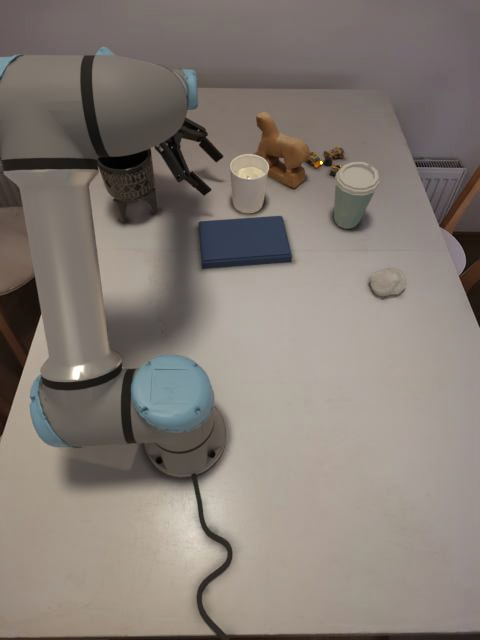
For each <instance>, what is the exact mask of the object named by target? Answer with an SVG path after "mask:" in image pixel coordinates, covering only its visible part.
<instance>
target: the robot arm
mask: <svg viewBox="0 0 480 640" xmlns="http://www.w3.org/2000/svg"><path fill="white" fill-rule="evenodd" d="M198 92H199V91H198V76H197V72H196V71H195V70H194V69H187V68H186V69H185V68H173V69H171V68H169V67H166V66H164V65H161V64H158V63H153V62H149V61H145V60H140V59H135V58H131V57H127V56H121V55H117V54H115V53H114V52H113V51H112V50H110V49H109V48H108V47H107V46H100V48H99V49H98V50H97V52H96V53H95V54H91V55H90V54H89V55H87V54H86V55H85V54H81V55H79V54H22V53H18V54H14V55H12V56H0V162H1V167H2V172H3V175H4V176H5V177H7V179H9V180H10V181H11V182H13V183H14V184H15V185H16V186H17V187H18V188H19V193H20V198H21V204H22V210H23V216H24V221H25V227H26V232H27V233H26V234H27V238H28V243H29V244H28V245H29V249H30V250H29V251H30V256H31V261H32V267H33V272H34V278H35V285H36V289H37V290H36V291H37V295H38V303H39V307H40V313H41V319H42V324H43V330H44V335H45V341H46V347H47V353H48V358H47V360H46V361H45V362H43V363H42V365H41V366H40V369H39V372H40V374H39V375H38V376H37V377H36V378H35V379H34V380H33V382H32V384H31V387H30V392H29V398H30V400H31V401H30V403H29V414H30V419H31V423H32V425H33V428H34V430H35V433H36V434H37V435H38V437H39V439H40V440H41V441H42V442H43V443H44V444H46V445H48V446H50V447H52V448H69V449H74V450H75V449H82V448H89V447H102V446H103V447H105V446H118V445H119V446H120V445H121V446H123V445H133V444H143V445H144V450H145V452H146V454H147V456H148V458H149V460H150V461H151V463H152V464H153V466H155V467H156V468H157V469H158V470H159V471H160V472H162V473H164V474H165V475H168V476H171V477H174V478H180V479H181V478H182V479H186V478H191V479H192V485H193V490H194V494H195V499H196V504H197V512H198V513H197V515H198V520H199V523H200V527H201V528H202V530H203V532H204V533H205V534H206V535H207V536H208V537H209V538H210V539H212V540H214V541H216V542H218V543H220V544H222V545H223V546H224V547H225V549H226V551H227V553H226V554H227V555H226V556H227V557H226V558H225V561H224V562H223V564H222V565H220V566H219V567H218V568H217V569H215V570H213V572H211V573H210V574H209V575H207V576H206V577H205V578H204V579H202V580H201V582H200V584H199V586H198V588H197V591H196V605H197V609H198V612H199V614H200V616H201V618H202V620H203V621H204V622H205V623H206V624H207V626H208V627H209V628H210V629H211V630H212V631H213V632H214V633H215V634H216V635H217V636H218V637H219V638H220V639H221V640H231V638H230V637H229V635H227V634H226V632H224V631H223V630H222V629H221V628H220V626H219V625H218V624H217V623H215V621H214V620H213V619H211V617H210V616H209V614H208V613H207V611H206V610H205V607H204V605H203V592H204V589H205V587H206V586H207V585H208V584H209V583H210V582H212V581H213V580H214V579H215V578H217V577H218V576H219V575H221V574H222V573H223V572H224V571H226V569H228V567H229V566H230V564H231V563H232V559H233V548H232V545H231V544H230V542H229V541H228V540H227V539H226V538H224V537H222V536H220V535H218V534H216V533H215V532H213V531H212V530H211V529H210V528H209V526H208V525H207V523H206V520H205V515H204V508H203V507H204V506H203V500H202V495H201V491H200V487H199V482H198V478H197V477H198V476H199V475H201V474H203V473H205V472H206V471H208V470H209V469H211V468H212V467H213V466H214V465H215V464H216V463H217V461H218V460H219V459H220V457H221V455H222V453H223V451H224V449H225V444H226V439H227V432H226V424H225V420H224V417H223V416H222V413H221V412H220V410H219V409H218V408H217V407H216V405H215V391H214V389H213V386H212V384H211V380H210V378H209V376H208V373H207V372H206V371H205V370H204V368H203V367H202V366H201V365H200V364H198V363H197V362H196V361H194V360H193V359H192V358H189V357H187V356H183V355H179V354H163V355H157V356H155V357H153V358H151V359H149V360H148V362H147V363H146V364H142V365H141V366H140V368H139V367H138V368H137V367H135V368H123V363H122V357H121V355H120V354H119V353H118V351H117V352H116V351H115V350H113V349H112V348H111V347H110V342H109V341H110V340H109V334H108V332H109V331H108V325H107V324H108V323H107V319H106V317H107V316H106V309H105V303H104V294H103V293H104V292H103V286H102V279H101V271H100V269H101V268H100V263H99V262H100V261H99V254H98V246H97V240H96V239H97V238H96V231H95V223H94V216H93V209H92V200H91V193H90V185H91V183H92V181H93V180H94V179H95V178H96V177H97V176H98V174H99V173H100V170H99V167H98V161H97V158H99V157H116V156H126V155H131V154H135V153H139V152H142V151H145V150H147V149H150V148H151V149H152V148H154V150H156V152H157V153H158V154H159V155H160V157H161V158H162V159H163V161H164V163H165V164H166V166H167V168H168V169H169V171H170V172H171V174H172V176H173V178H174V179H175V181H176V182H177V183H181V182H183V181H185V182H186V183H188V184H189V185H190V186H191V187H192V188H193V189H196V190H197V191H198V192H199V193H200V194H201V195H202V196H203V197H205V196H206V195H208V194H209V193H210V192H211V191H213V190H212V188H211V187H210V186H209V185H208V184H207V183H206V182H205V181H203V179H202V178H200V176H198V174H196V173H195V172H194V171H193V170H192V171H190V169H189V167H188V164H187V161H186V159H185V156H184V154H183V152H182V149H181V146H182V145H181V143H182V139H185V140H189V141H192V142H197V143H199V144H198V146H199V147H200V148H201V149H202V150H203V151H204V152H205V153H206V154H207V155H208V156H209V158H211V159H212V160H213V162H214V163H218V162H220V160H222V159H224V155H223V153H222V152H221V151H220V150H218V148H217V147H215V145H214V144H213V143H212V142H211V140H209V139H208V138H207V137H208V136H209V133H208V132H207V129H206V127H205V126H202V125H201V124H199V123H197V122H195V121H193V120H191V119H190V118H188V117H187V114H188V111H195V110H196V109H197V108H198V107H199V93H198Z"/></svg>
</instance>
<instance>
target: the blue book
mask: <svg viewBox="0 0 480 640" xmlns="http://www.w3.org/2000/svg"><path fill="white" fill-rule="evenodd" d="M197 226H198V236H199V247H200V249H199V250H200V259H201V268H202V270H203V269H216V268H217V269H218V268H229V267H230V268H231V267H241V266H254V265H268V264H280V263H281V264H282V263H291V262H292V259H293V255H292V251H291V247H290V243H289V238H288V234H287V233H288V232H287V230H286V226H285V222H284V217H283V216H282V215H270V216H255V217H242V218H227V219H213V220H200V221H198V222H197Z"/></svg>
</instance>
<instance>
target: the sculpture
mask: <svg viewBox="0 0 480 640" xmlns="http://www.w3.org/2000/svg"><path fill="white" fill-rule="evenodd" d="M255 122H256V126H257V128H258V130H260V131H261V138H260V140H259V142H258V143H259V144H258V145H257V146H258V147H257V149H256V152H254V153H253V154H254V155H258V156H260V157H262V158H264V159H265V160H266V161H267V162H268V164H269V171H268V176H267V177H270V178H272V179H273V180H275V181H277V182H279V183H281V184H282V185H285V186H287V187H290V188H292V189H296V188H297V187H298V186H299V185H301V183H303V182H304V181H305V180H306V170H305V169H306V168H305V167H303V166H302V164H303V163H306V161H307V160H308V159H309V158H310V153H311V150H310V148H309V145H308V143H306V142H305V140H302V139H300V138H297V137H293V136H288V135H286V134H284V133H282V132H280V131H279V130H278V127H277V124H276V123H275V121H274V119H273V116H271V114H270V113H269V112H267V111H265V110H262V112H259V113H258V114H257V115H256V116H255ZM280 159H283V161H284V162H283V161H280Z"/></svg>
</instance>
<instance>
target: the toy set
mask: <svg viewBox="0 0 480 640" xmlns="http://www.w3.org/2000/svg"><path fill="white" fill-rule="evenodd" d="M331 151H332V152H331ZM344 153H345V149H344V148H342V147H338V146H335V147H333V148H332V149H330V150H328V151H327V150H324V151H323V154H322V155H323V157H324V160H323V161H322V159H321V158H320V157H319V156H318V154H317V153H316V152H314V151H310V158H309V159H308V160H307V161H305V163H307V164H309V165H310V166H313V167H314V168H315V169H316V168H319V167H320V166H321V165H322V164H323V163H324V164H325V165H326V166H331V165H333V166H332V167H331V169H330V172H329V174H330V175H331V176H336V173H337V172H338V171H339V170H340V169H341V168H342V167H343V165H340V164H338V163H333V158H334V159H343V158H344ZM331 155H332V156H331ZM342 155H343V156H342ZM332 157H333V158H332ZM322 166H323V165H322Z"/></svg>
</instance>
